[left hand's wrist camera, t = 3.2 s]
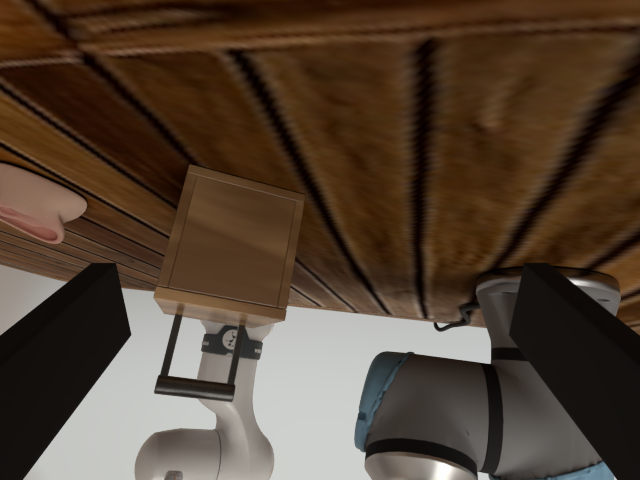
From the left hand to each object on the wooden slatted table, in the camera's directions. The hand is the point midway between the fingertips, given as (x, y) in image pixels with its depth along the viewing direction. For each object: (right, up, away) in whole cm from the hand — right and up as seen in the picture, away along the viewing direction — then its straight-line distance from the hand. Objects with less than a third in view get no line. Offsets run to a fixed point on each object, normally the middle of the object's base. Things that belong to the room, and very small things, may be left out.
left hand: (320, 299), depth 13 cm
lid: (-10, -4, +23) cm, 25 cm away
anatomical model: (-31, +7, +29) cm, 43 cm away
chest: (-8, +5, +26) cm, 28 cm away
